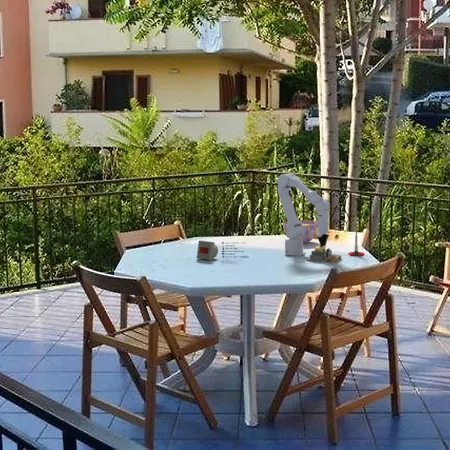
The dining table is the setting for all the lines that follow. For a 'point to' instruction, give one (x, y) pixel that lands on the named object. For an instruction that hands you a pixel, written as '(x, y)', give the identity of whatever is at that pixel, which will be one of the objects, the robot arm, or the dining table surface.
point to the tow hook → (356, 249)
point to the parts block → (333, 258)
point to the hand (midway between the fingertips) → (323, 248)
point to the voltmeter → (211, 250)
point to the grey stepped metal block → (320, 255)
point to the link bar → (320, 248)
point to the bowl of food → (306, 230)
